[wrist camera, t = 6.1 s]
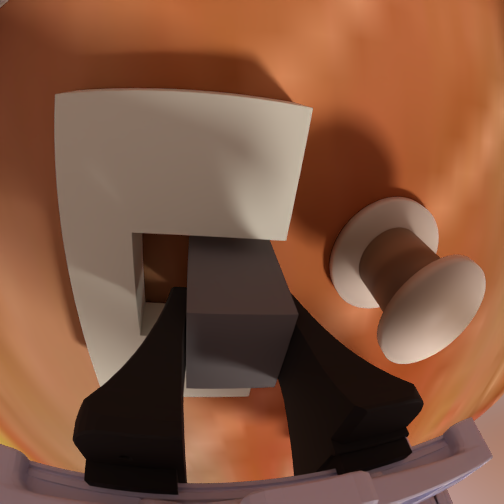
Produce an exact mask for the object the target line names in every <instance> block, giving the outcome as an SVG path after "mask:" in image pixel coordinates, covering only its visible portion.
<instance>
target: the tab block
mask: <svg viewBox="0 0 504 504" xmlns="http://www.w3.org/2000/svg"><path fill="white" fill-rule="evenodd" d="M298 315H299V314H298V312H297V309H296V306H295V304H294V301H293V299H292V296H291V293H290V291H289V288H288V286H287V283H286V281H285V278H284V275H283V273H282V270H281V268H280V265H279V263H278V260H277V258H276V255H275V253H274V250H273V247H272V245H271V242H270V240H265V239H248V238H230V237H212V236H193V235H189V250H188V273H187V313H186V388H192V389H235V388H264V387H275V384H276V382H277V379H278V376H279V373H280V370H281V367H282V364H283V361H284V358H285V355H286V352H287V349H288V346H289V343H290V340H291V337H292V334H293V331H294V327H295V324H296V321H297V318H298Z"/></svg>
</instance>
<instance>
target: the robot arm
mask: <svg viewBox="0 0 504 504" xmlns="http://www.w3.org/2000/svg"><path fill="white" fill-rule="evenodd" d="M291 296H292V299H293V301H294V304H295V306H296V309H297V312H298V314H299V315H298V318H297V321H296V324H295V327H294V331H293V334H292V337H291V340H290V343H289V346H288V349H287V352H286V355H285V358H284V361H283V364H282V367H281V370H280V373H279V376H278V380H279V384H280V387H281V390H282V394H283V398H284V403H285V409H286V415H287V421H288V427H289V434H290V441H291V449H292V458H293V469H294V476H291V477H284V478H277V479H268V480H258V481H247V482H232V483H187V476H186V460H185V441H184V412H183V395H184V382H185V371H186V313H187V287H173V288H172V289H171V291H170V294H169V297H168V299H167V302H166V304H165V306H164V308H163V310H162V312H161V314H160V316H159V317H158V319H157V321H156V323H155V324H154V326H153V328H152V329H151V331H150V332H149V334H148V335H147V337H146V338H145V340H144V341H143V343H142V344H141V345H140V346H139V348H138V349H137V350H136V352H135V353H134V354H133V355H132V356H131V357H130V359H129V360H128V361H127V362H126V363H125V364H124V365H123V366H122V367H121V368H120V370H118V371H117V372H116V373H115V374H114V375H113V376H112V377H111V378H110V379H109V380H108V381H107V382H106V383H105V384H103V385H102V386H101V387H100V388H98V389H97V390H96V391H94V392H93V393H92V394H91V395H89V396H88V397H87V398H85V399H84V401H83V403H82V405H81V407H80V410H79V412H78V415H77V418H76V422H75V427H74V434H73V441H74V444H75V445H76V447H77V448H78V449H79V451H80V452H81V453H82V455H83V456H84V457H85V459H86V465H85V473H80V472H75V471H70V470H65V469H61V468H57V467H53V466H49V465H45V464H41V463H37V462H34V461H30V460H29V459H28V458H27V457H26V456H25V455H24V454H23V453H22V452H20V451H18V450H16V449H14V448H11V447H8V446H5V445H2V444H0V504H453V503H452V500H451V498H450V496H449V493H448V491H447V488H449V487H451V486H453V485H455V484H457V483H458V482H460V481H461V480H463V479H464V478H466V477H467V476H469V475H470V474H472V473H473V472H474V471H476V470H477V469H479V468H480V467H481V466H483V465H484V464H485V463H486V462H488V461H489V460H491V459H492V457H493V456H492V454H491V452H490V450H489V448H488V446H487V444H486V443H485V441H484V439H483V437H482V435H481V433H480V431H479V430H478V428H477V426H476V425H475V423H474V421H473V419H472V417H469V418H467V419H465V420H463V421H460V422H458V423H456V424H454V425H453V426H451V427H450V428H449V429H448V430H447V431H446V432H445V433H444V434H443V435H441V436H439V437H436V438H434V439H431V440H429V441H426V442H423V443H421V444H418V445H415V446H412V447H411V445H410V443H409V440H408V438H407V436H408V435H409V432H408V430H407V428H406V427H407V426H408V425H409V424H410V423H411V422H412V421H413V419H414V418H415V417H416V416H417V415H418V414H419V413H420V411H421V409H422V407H423V400H422V398H421V396H420V395H419V393H418V391H417V389H416V387H415V386H414V384H412V383H409V382H407V381H405V380H402V379H400V378H397V377H395V376H393V375H391V374H389V373H387V372H385V371H383V370H381V369H379V368H377V367H375V366H374V365H372V364H370V363H369V362H367V361H365V360H364V359H362V358H361V357H359V356H358V355H356V354H355V353H353V352H352V351H351V350H349V349H348V348H347V347H345V346H344V345H343V344H341V343H340V342H339V341H338V340H337V339H335V338H334V337H333V336H332V335H331V334H330V333H329V332H328V331H327V330H325V329H324V328H323V327H322V326H321V325H320V324H319V323H318V322H317V321H316V320H315V319H314V318H313V317H312V316H311V315H310V313H309V312H308V311H307V310H306V309H305V308H304V307H303V306H302V305H301V304H300V303H299V301H298V300H297V299H296V298H295V297H294V296H293V295H292V294H291Z"/></svg>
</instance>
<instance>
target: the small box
mask: <svg viewBox="0 0 504 504" xmlns="http://www.w3.org/2000/svg"><path fill="white" fill-rule="evenodd" d="M7 1H9V0H0V7H2V6H3V5H4V4H5V3H6V2H7Z"/></svg>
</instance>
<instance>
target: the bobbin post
mask: <svg viewBox="0 0 504 504" xmlns="http://www.w3.org/2000/svg"><path fill="white" fill-rule="evenodd" d="M438 237H439V236H438V228H437V224H436V222H435V219H434V217H433V216H432V214H431V213H430V212H429V211H428V210H427V209H426V208H425V207H423V206H422V205H421V204H419V203H418V202H416V201H414V200H412V199H409V198H406V197H389V198H384V199H381V200H378V201H376V202H374V203H372V204H370V205H368V206H366V207H365V208H363V209H362V210H361V211H359V212H358V213H357V214H356V215H355V216H354V217H353V218H352V219H351V220H350V221H349V222H348V223H347V224H346V225H345V227H344V228H343V229H342V231H341V232H340V234H339V235H338V237H337V239H336V241H335V243H334V246H333V249H332V252H331V256H330V264H329V269H330V276H331V280H332V283H333V285H334V287H335V288H336V290H337V292H338V293H339V295H340V296H341V297H342V298H343V300H345V301H346V302H347V303H349V304H351V305H353V306H356V307H360V308H377V307H380V308H381V309H382V311H383V314H382V316H381V319H380V321H379V325H378V329H377V340H378V344H379V346H380V347H381V349H382V351H383V353H384V355H385V356H386V357H387V359H388V360H390V361H392V362H394V363H399V364H408V363H414V362H418V361H420V360H423V359H426V358H428V357H430V356H432V355H434V354H436V353H437V352H439V351H440V350H442V349H443V348H445V347H446V346H447V345H449V344H450V343H451V342H452V341H453V340H455V339H456V338H457V337H458V336H459V335H460V334H461V333H462V332H463V330H464V329H465V328H466V327H467V326H468V324H469V323H470V322H471V320H472V319H473V317H474V316H475V314H476V312H477V311H478V309H479V307H480V304H481V302H482V299H483V296H484V292H485V286H486V280H485V275H484V272H483V270H482V269H481V268H480V267H479V266H478V265H477V264H476V263H475V262H474V261H473V260H472V259H470V258H469V257H467V256H464V255H450V256H446V257H443V258H440V257H439V256H438V255H437V254H436V252H437V248H438Z"/></svg>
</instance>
